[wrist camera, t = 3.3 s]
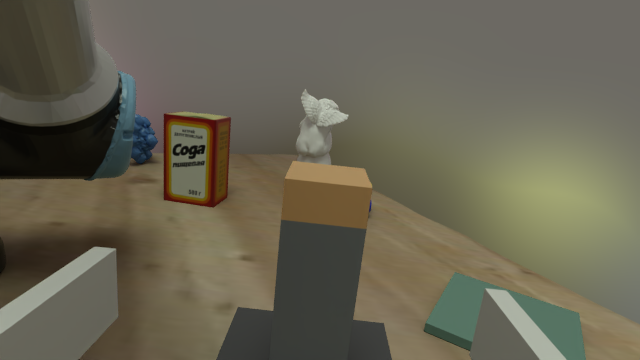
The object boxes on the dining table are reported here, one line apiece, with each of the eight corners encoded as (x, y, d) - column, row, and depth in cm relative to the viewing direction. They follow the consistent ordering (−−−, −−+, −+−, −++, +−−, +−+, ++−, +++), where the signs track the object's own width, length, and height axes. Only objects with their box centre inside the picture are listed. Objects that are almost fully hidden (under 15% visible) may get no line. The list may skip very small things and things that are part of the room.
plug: (263, 430, 25) (284, 178, 21) (274, 375, 30) (293, 160, 26) (335, 438, 25) (372, 187, 21) (334, 381, 30) (364, 168, 26)
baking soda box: (163, 199, 67) (163, 111, 63) (181, 190, 74) (182, 109, 70) (213, 207, 66) (216, 118, 62) (227, 197, 73) (230, 115, 69)
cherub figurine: (314, 181, 92) (325, 91, 87) (353, 194, 84) (367, 96, 79) (277, 186, 84) (287, 86, 78) (317, 201, 76) (330, 92, 70)
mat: (424, 331, 38) (425, 322, 38) (453, 278, 50) (455, 272, 49) (586, 400, 31) (590, 390, 31) (576, 320, 43) (579, 313, 43)
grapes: (146, 170, 85) (145, 118, 82) (117, 167, 85) (115, 114, 82) (168, 160, 96) (168, 114, 93) (142, 157, 96) (141, 111, 93)
